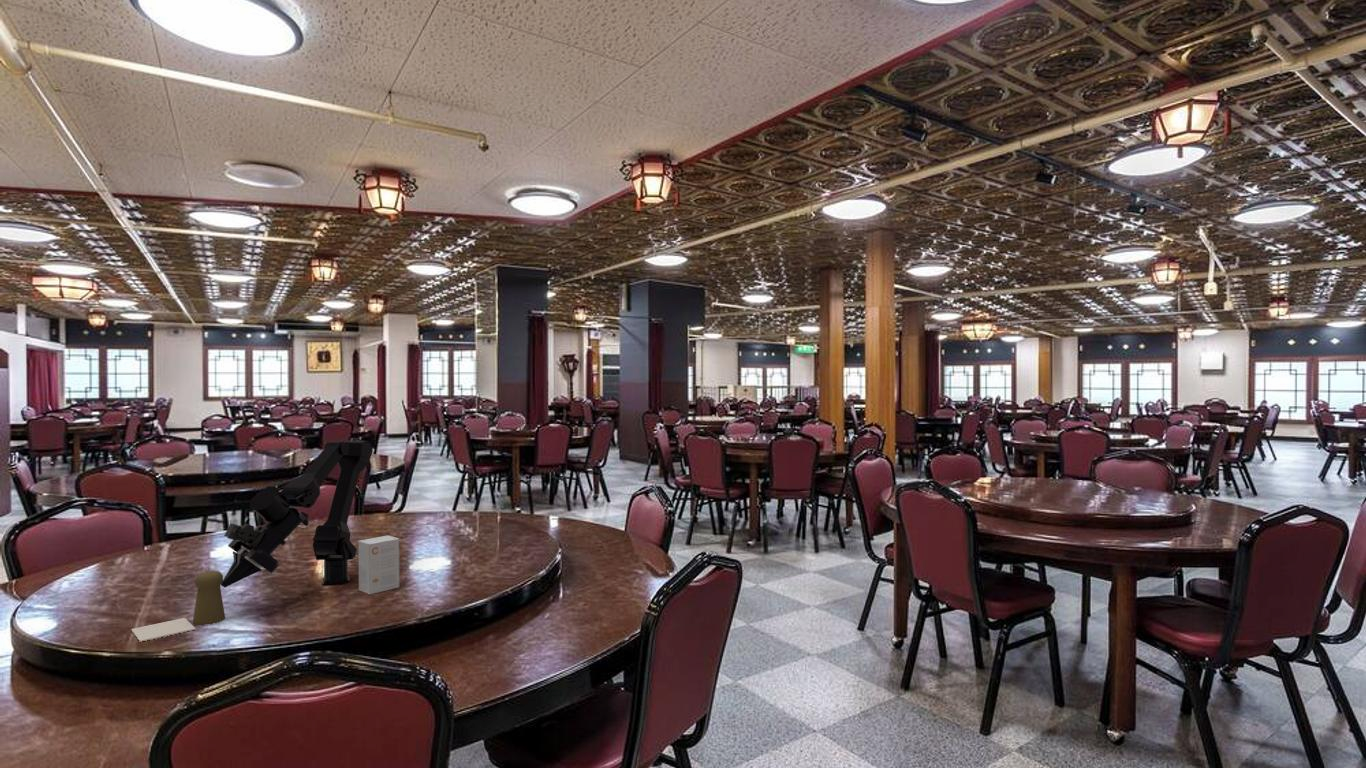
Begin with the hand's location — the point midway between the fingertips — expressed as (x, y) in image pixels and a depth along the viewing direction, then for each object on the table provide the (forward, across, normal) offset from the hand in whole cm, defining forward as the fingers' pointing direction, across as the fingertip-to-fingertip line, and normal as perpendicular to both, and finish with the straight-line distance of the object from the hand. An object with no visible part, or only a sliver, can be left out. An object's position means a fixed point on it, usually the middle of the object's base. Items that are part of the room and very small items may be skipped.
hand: (222, 586), depth 153 cm
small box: (-18, +5, +29) cm, 35 cm away
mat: (+13, 0, -2) cm, 13 cm away
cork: (+7, 0, +4) cm, 8 cm away
